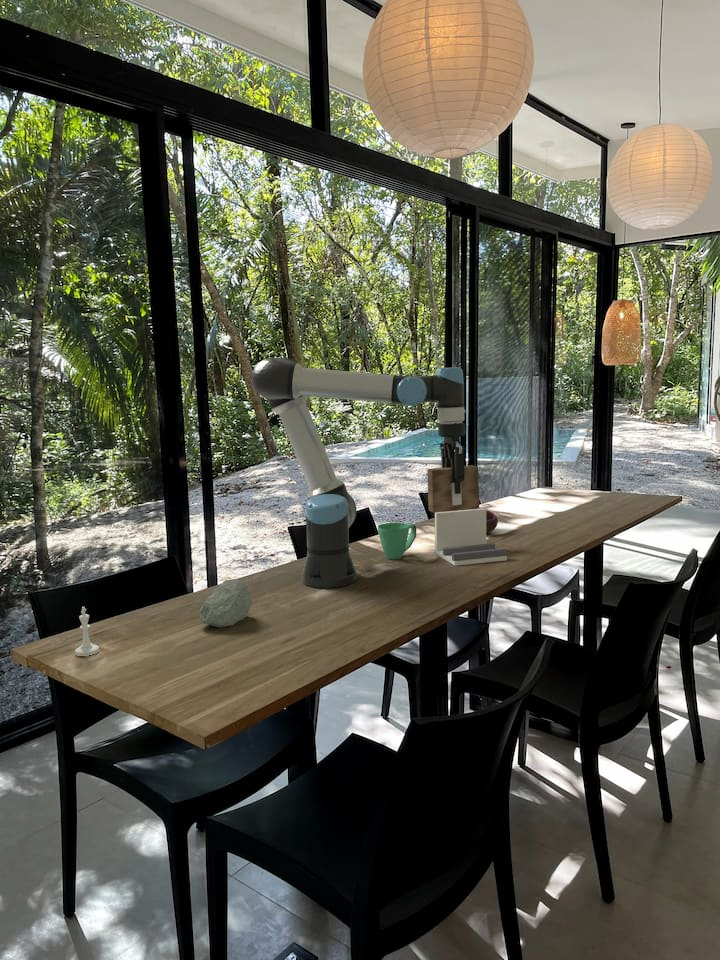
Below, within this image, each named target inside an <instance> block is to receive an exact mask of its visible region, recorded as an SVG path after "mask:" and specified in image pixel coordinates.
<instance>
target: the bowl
mask: <svg viewBox="0 0 720 960" xmlns="http://www.w3.org/2000/svg"><path fill="white" fill-rule="evenodd" d="M476 509H479V508H476ZM465 510H471V509H465ZM498 520H499V519H498V517H497V514H495V512H493V511H490V510H488V509H486V534H487V533H491V532H492V531H494V530H495V529H496V528H497V526H498V524H499V521H498Z"/></svg>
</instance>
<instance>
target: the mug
mask: <svg viewBox="0 0 720 960" xmlns="http://www.w3.org/2000/svg"><path fill="white" fill-rule="evenodd" d="M377 531H378V537H379V540H380V545H381V548H382V551H383V553H384V555H385V557H386V559H388V560H399V559H402V558H403V555H404V553H405V552H407V551H408V549H410V548H411V547H412V545H413V543H414V541H415V540H416V538H417V526H416V525H415V523H402V522H385V523H381V524H378V525H377ZM409 533H410V534H409Z"/></svg>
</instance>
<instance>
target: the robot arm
mask: <svg viewBox="0 0 720 960" xmlns="http://www.w3.org/2000/svg"><path fill="white" fill-rule="evenodd" d="M435 372H436V373H435V374H433V375H411V376H410V375H397V374H384V373H383V374H382V373H374V372H359V371H350V370H349V371H347V370H336V369H335V370H334V369H325V368H324V369H323V368H313V367H312V368H311V367H302V365H301V364H300V363H296V362H295V361H293V360H291V359H289V358H286V357H267V358H264V359H262V360H261V361H259V362H258V363H257V364H256V365H255V366H254V368H253V371H252V375H251V384H252V386H253V388H254V391H255V392H256V393H257V394H258V395H259V396H261V397H262V398H264V399H266V401H267V402H268V406H269V408H270V410H271V412H274V413H276V414H278V416H279V418H280V420H281V422H282V426H283V428H284V430H285V433H286V435H287V438H288V439H289V442H290V445H291V447H292V449H293V452H294V455H295V457H296V459H297V462H298V464H299V466H300V470H301V472H302V474H303V476H304V479H305V482H306V484H307V487H308V488H309V491H308V494H307V496H306V497H307V501H306V503H305V510H304V514H305V525H306V526H305V527H306V531H305V532H306V547H307V550H306V551H307V552H306V558H305V561H304V565H303V569H302V573H301V581H302V584H304V585H306V586H308V587H312V588H323V589H324V588H325V589H326V588H328V589H329V588H339V587H345V586H348V585H351V584H352V583H355V582H356V581H357V571H356V568H355V565H354V563H353V560H352V557H351V554H350V539H349V538H350V537H349V534H350V533H349V529H350V528H351V526H352V525H353V523H355V519H356V517H357V505H356V502H355V499H354V498H353V497H352V495H351V494H350V493H349V492H348V489H347V487H346V485H345V482H344V481H343V480H340V479H338V477H337V475H336V474H335V471H334V469H333V467H332V464H331V461H330V458H329V456H328V454H327V451H326V449H325V447H324V443H323V442H322V439H321V437H320V433H319V431H318V429H317V426H316V425H315V421H314V419H313V417H312V413H310V412H311V411H310V410H309V409H310V408H308V405H307V401H308V398H309V397H312V398H313V397H315V398H323V399H324V398H327V399H337V400H348V401H349V400H350V401H361V402H372V403H373V402H375V403H384V404H395V405H405V406H408V407H416V406H419V405H420V404H421V403H437V408H436V409H437V411H436V412H437V422H439V423H438V424H437V429H438V430H437V431H438V433H437V434H438V436H439V437H441V438H443V442H440V444H439V447H440V456H441V457H440V458H441V462H440V463H441V468H447V467H451V470H452V480H453V481H450V483H451V490H452V505H462V495H461V482H462V481H464V479H465V478H464V466H465V451H466V447H465V446H464V445H462V444H461V439H460V437H463V436H465V435H466V424H465V422H464V421H465V413H466V411H467V410H466V409H465V386H464V385H465V382H464V371H463V369H462V367H459V366H458V367H457V366H454V367H438V368H437V369H436V371H435Z"/></svg>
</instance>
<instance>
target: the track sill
mask: <svg viewBox="0 0 720 960" xmlns="http://www.w3.org/2000/svg"><path fill="white" fill-rule="evenodd" d="M486 510H487V508H478V509H471V510H455V511H445V512H434V554H436V555H437V556H439V557H440V558H442V559H443V560H445V561H446V562H448V563H450V564H452V565H453V566H457V567H458V566H464V565H465V566H466V565H474V564H482V563H483V564H485V563H494V562H502V561H507V560H508V556H507V554H506V553H507V549H506V548H503V547H502V548H496V543H495V542H492V543H487V533H486Z"/></svg>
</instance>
